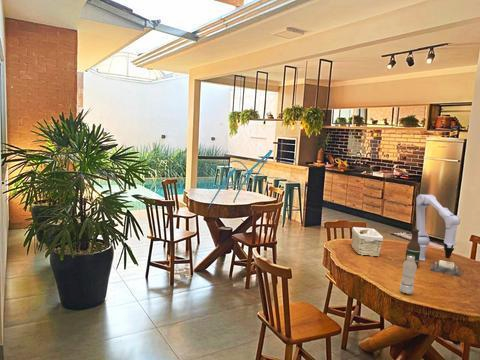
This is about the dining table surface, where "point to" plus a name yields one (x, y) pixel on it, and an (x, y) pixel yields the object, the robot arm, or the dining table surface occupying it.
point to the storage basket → (366, 241)
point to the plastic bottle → (408, 275)
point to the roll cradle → (446, 270)
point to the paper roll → (446, 265)
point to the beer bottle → (414, 247)
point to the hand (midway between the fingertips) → (447, 256)
